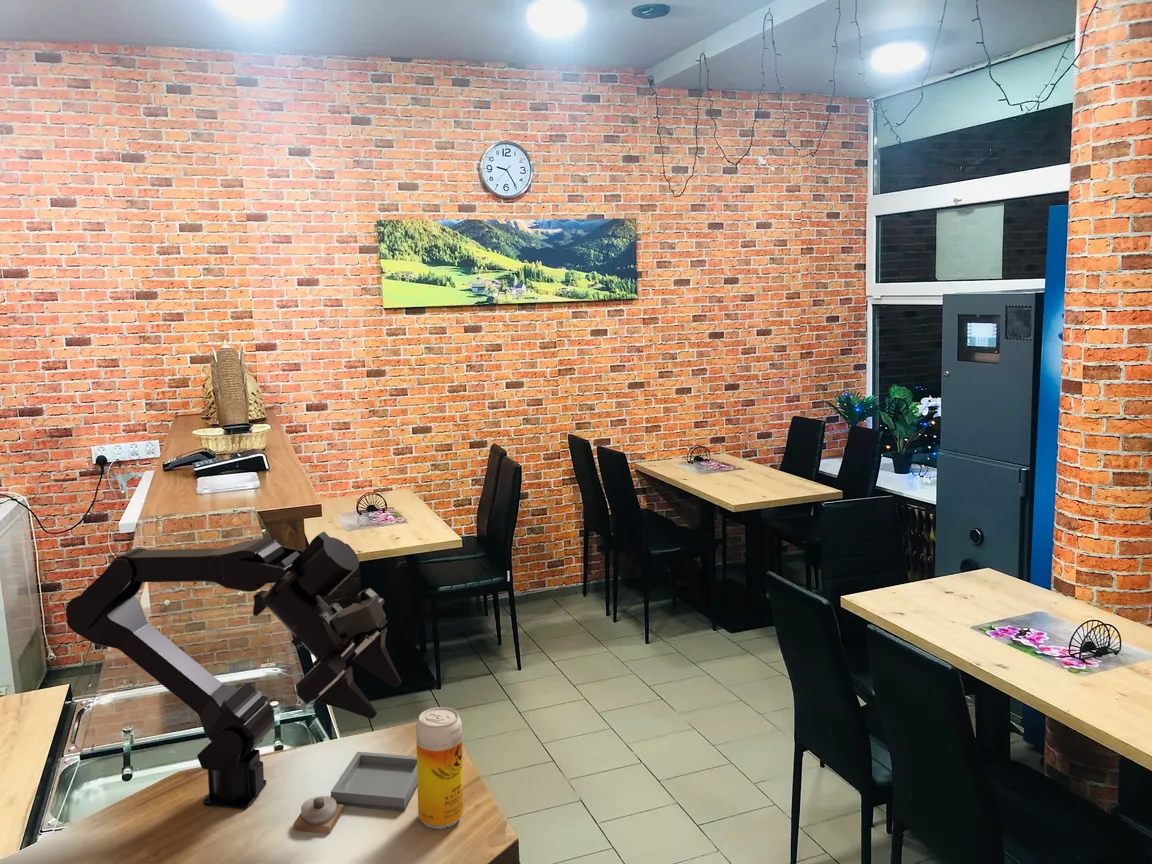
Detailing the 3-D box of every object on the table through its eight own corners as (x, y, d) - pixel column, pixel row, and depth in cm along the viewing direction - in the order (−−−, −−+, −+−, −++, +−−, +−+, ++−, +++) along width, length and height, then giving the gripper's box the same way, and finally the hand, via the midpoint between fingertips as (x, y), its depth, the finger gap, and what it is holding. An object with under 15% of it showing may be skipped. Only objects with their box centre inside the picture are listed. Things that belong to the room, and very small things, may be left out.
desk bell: (293, 830, 118) (293, 809, 118) (309, 808, 123) (308, 788, 122) (329, 833, 118) (329, 813, 117) (343, 811, 122) (343, 791, 122)
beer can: (454, 834, 118) (452, 729, 115) (411, 828, 119) (408, 724, 117) (469, 807, 124) (467, 708, 121) (428, 802, 125) (425, 703, 122)
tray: (331, 804, 124) (330, 791, 124) (357, 763, 134) (357, 751, 134) (404, 811, 123) (404, 798, 122) (425, 769, 133) (425, 757, 133)
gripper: (316, 604, 108) (404, 696, 109) (372, 557, 126) (447, 636, 127) (258, 659, 111) (344, 749, 111) (321, 605, 129) (395, 682, 129)
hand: (387, 699), depth 120 cm, fingers open, 9 cm apart
